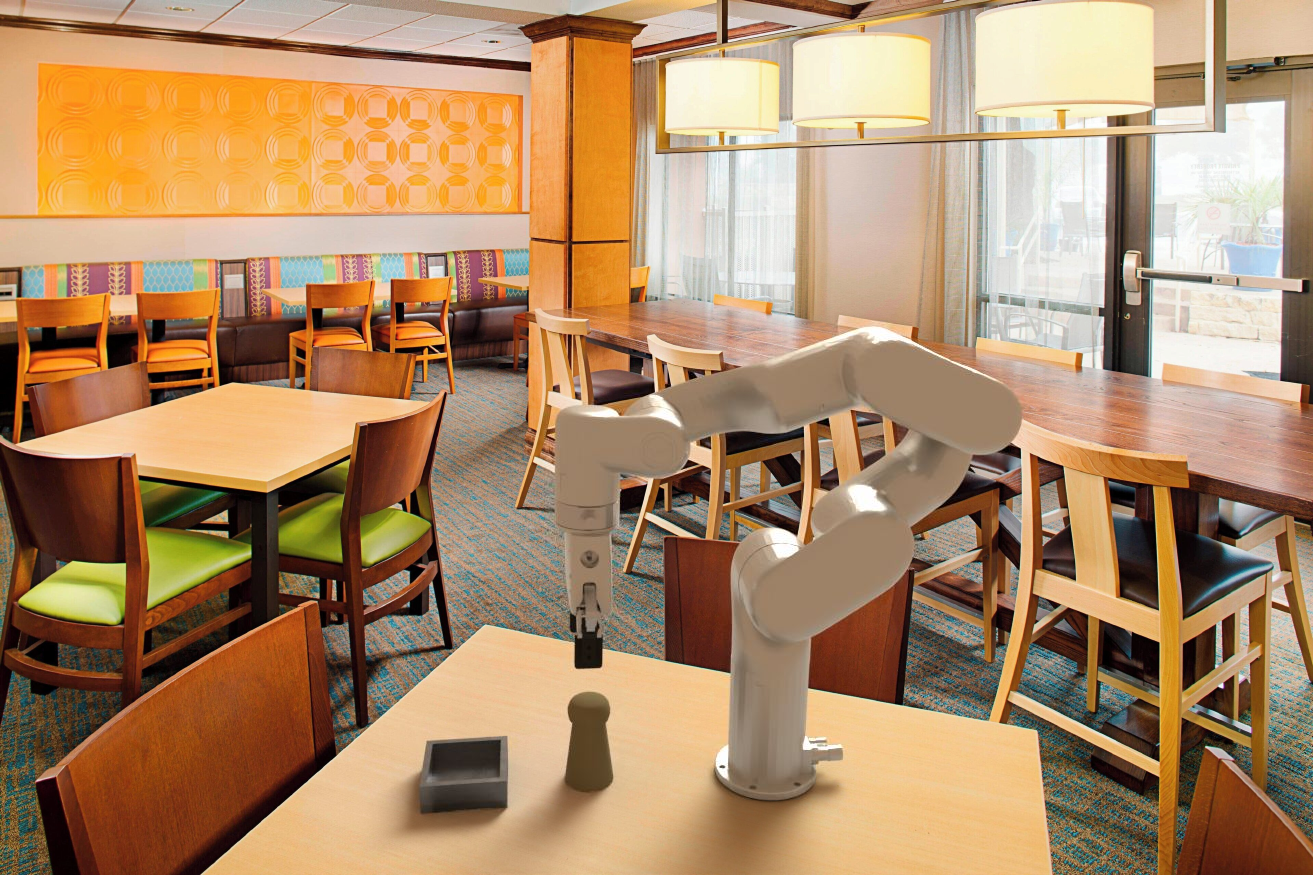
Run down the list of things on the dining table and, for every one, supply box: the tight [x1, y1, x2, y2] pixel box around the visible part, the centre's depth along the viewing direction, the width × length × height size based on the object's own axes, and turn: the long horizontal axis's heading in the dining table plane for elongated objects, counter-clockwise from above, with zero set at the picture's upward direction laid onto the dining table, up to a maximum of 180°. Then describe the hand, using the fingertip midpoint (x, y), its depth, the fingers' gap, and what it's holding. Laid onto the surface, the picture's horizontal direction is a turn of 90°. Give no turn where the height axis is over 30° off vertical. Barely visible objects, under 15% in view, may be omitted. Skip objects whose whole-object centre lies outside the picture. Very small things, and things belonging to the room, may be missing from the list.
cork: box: [564, 691, 615, 793], centre depth 121 cm, size 6×6×11 cm
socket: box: [418, 735, 509, 814], centre depth 120 cm, size 10×10×4 cm
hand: (585, 648), depth 118 cm, fingers open, 9 cm apart
